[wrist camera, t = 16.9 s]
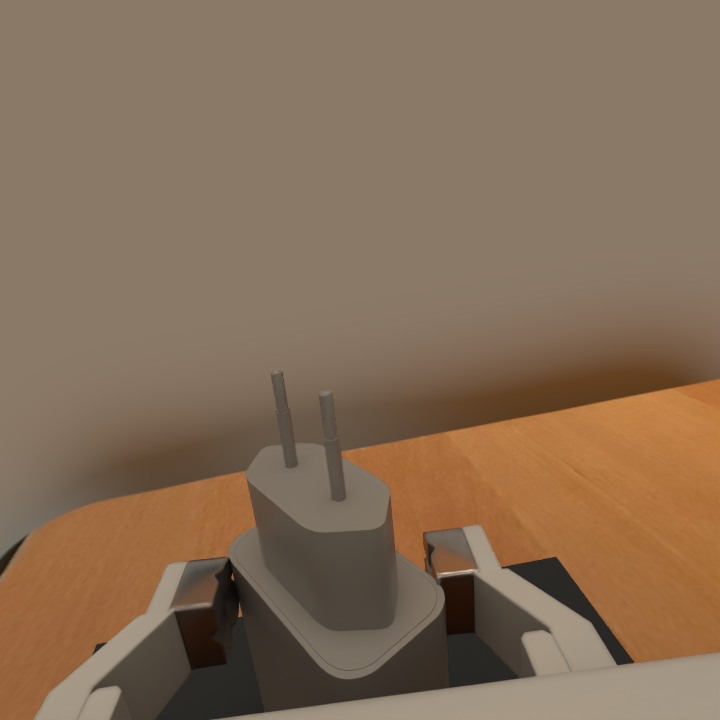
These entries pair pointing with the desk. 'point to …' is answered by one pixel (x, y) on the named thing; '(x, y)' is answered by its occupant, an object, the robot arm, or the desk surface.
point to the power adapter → (331, 579)
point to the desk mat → (465, 653)
